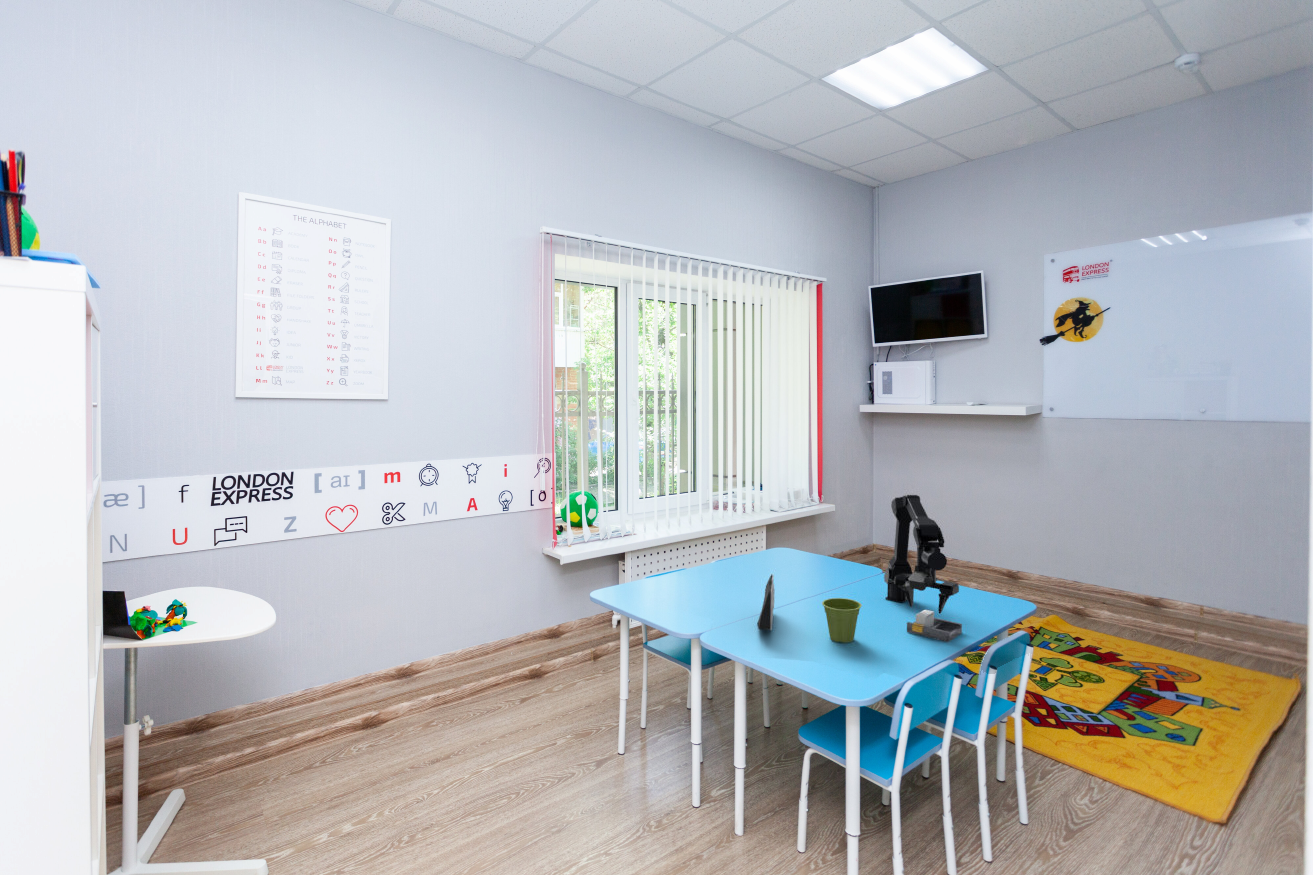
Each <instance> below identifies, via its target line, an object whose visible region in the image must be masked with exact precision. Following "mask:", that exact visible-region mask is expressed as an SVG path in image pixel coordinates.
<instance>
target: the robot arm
mask: <svg viewBox="0 0 1313 875" xmlns="http://www.w3.org/2000/svg"><path fill="white" fill-rule="evenodd" d="M891 510H892V513H893V515H894V517H895V519H896V524H895V536H894V537H895V538H894V547H893V548H894V550H893V556H892V557H891V559H890V560H889V561H888V565H887V567H886V570H885V572H884V575H883V579H884V580H883V581H884V582H885V583H886V585H887V592H886V594H887V596H886V597H885V598H884V599H885V600H887V601H893V602H897V603H905V602H906V601H907V602H908V605H909V607H910V608H912V607H913V606H914V605H913V604H914V595H915V594H914V592H915V591H914V590H918V591H921V592H922V591H925V590H926V588H931V589H936V590H939V592H940V593H938V597H939V600H938V614H942V612H943V609H944V608H945V605H946V603H947V601H948V600H949V598H950V597H951V596H955V595H956V594H958V593H960V586H959V584H958V583H957V582H952V581H947V580H946V581H944V582H942V583H941V582H937V581H938V577H937V571H941V570H943V569H944V568H946V566H947V564H948V559H947V557H946V555H945V554H944V553H943V552H941V548H945V538H944V535H943V531H942V530H941V528H940V526H939V525H938V523H937V521H935V520H934V519H931V518H930V517H929V516H928V514H927V512H926V511H925V508H924V506H923V504H922V502H921V497H920V495H917V494H905V495H902V496H899V497H895V498H893V499H892V500H891ZM912 522H913V525H914V526H913V529H912V534H913V538H914V542H915V544H916V564H915V566H914V570H912V565H910V563H909V561H908V553H909V540H910V529H911V523H912Z"/></svg>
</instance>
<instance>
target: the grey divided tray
mask: <svg viewBox="0 0 1313 875" xmlns="http://www.w3.org/2000/svg"><path fill="white" fill-rule="evenodd" d="M906 633H910V634H914V635H918V636H922V637H924V638H929V639H933V640H938V641H941V642H945V643H950V642H951V641H953V640H954V639H956V638H957V637H959V636H960V635H961V634H962V633H963V624H962V623H960V622H955V621H952V620H946V619H943V618H938V617H935V616H934V626H933V627H927V626H924V625H921V624H917V623H916V620H915V621H913V622H911V621H907V622H906Z"/></svg>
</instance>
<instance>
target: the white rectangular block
mask: <svg viewBox="0 0 1313 875" xmlns="http://www.w3.org/2000/svg"><path fill="white" fill-rule="evenodd" d="M934 617H935V611H934V610H928V609H923V610H922V611H920V612H918V613H916V614H915V621H916V623H917V624H921V625H924V626H927V627H933V626H934Z"/></svg>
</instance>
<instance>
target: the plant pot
mask: <svg viewBox="0 0 1313 875" xmlns="http://www.w3.org/2000/svg"><path fill="white" fill-rule="evenodd" d="M821 605H822V606H823V609H824V613H825V616H826V621H827V628H828V635H829V638H830V639H831V641H833V642H836V643H838V642H840V643H843V644H847V643H851V642H853V641H854V639H855V635H856V629H857V628H856V627H857V621H858V616H859V615H860V609H861V608H862V605H863V604H862V603H860V602H859V601H857V600H855V599H851V598H843V597H834V598H827V599H825V600H823V601H822V602H821Z"/></svg>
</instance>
